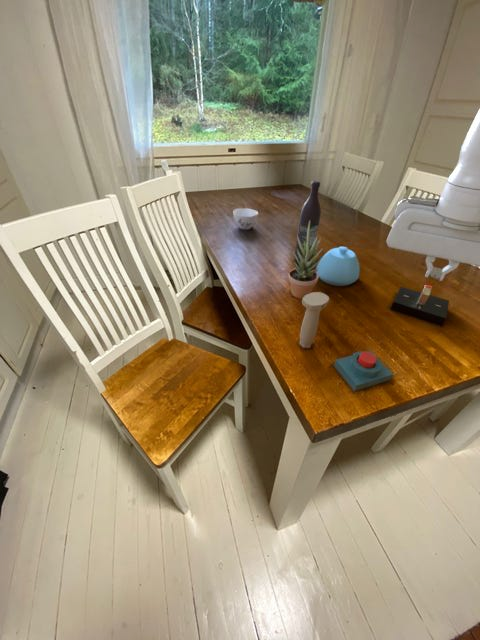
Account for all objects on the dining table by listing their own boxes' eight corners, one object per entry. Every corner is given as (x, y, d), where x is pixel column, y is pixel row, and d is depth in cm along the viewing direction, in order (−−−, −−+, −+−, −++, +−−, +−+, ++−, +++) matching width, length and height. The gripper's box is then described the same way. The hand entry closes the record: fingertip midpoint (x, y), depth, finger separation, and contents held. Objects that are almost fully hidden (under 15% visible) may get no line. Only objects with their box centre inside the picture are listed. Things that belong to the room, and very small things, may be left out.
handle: (320, 345, 72) (333, 299, 63) (302, 355, 70) (313, 308, 60) (307, 335, 76) (318, 289, 66) (290, 344, 73) (298, 297, 63)
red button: (366, 355, 65) (369, 350, 64) (377, 366, 62) (379, 361, 61) (354, 359, 64) (356, 353, 63) (364, 370, 61) (366, 365, 60)
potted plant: (291, 283, 97) (302, 212, 82) (317, 290, 94) (334, 217, 78) (281, 297, 90) (291, 222, 75) (309, 305, 87) (325, 228, 71)
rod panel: (444, 308, 86) (449, 300, 84) (441, 326, 79) (446, 317, 77) (397, 293, 93) (400, 286, 91) (390, 309, 86) (393, 301, 84)
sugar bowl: (330, 264, 109) (336, 235, 102) (364, 278, 100) (374, 248, 93) (307, 276, 101) (312, 246, 94) (342, 292, 93) (351, 262, 85)
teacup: (253, 233, 133) (254, 217, 128) (229, 230, 136) (229, 214, 131) (261, 223, 145) (262, 208, 140) (239, 220, 148) (239, 205, 142)
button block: (367, 356, 70) (372, 345, 67) (390, 380, 64) (396, 368, 61) (333, 365, 67) (337, 354, 64) (354, 391, 61) (359, 380, 59)
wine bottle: (291, 265, 108) (303, 182, 89) (296, 257, 113) (308, 178, 94) (308, 268, 106) (324, 184, 87) (312, 261, 111) (328, 180, 92)
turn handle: (423, 306, 82) (429, 294, 79) (416, 304, 82) (423, 292, 80) (426, 297, 86) (432, 285, 83) (419, 295, 86) (425, 284, 84)
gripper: (397, 198, 47) (373, 270, 55) (557, 220, 38) (498, 302, 46) (403, 190, 51) (380, 258, 59) (549, 208, 42) (497, 285, 50)
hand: (433, 277), depth 53 cm, fingers closed
